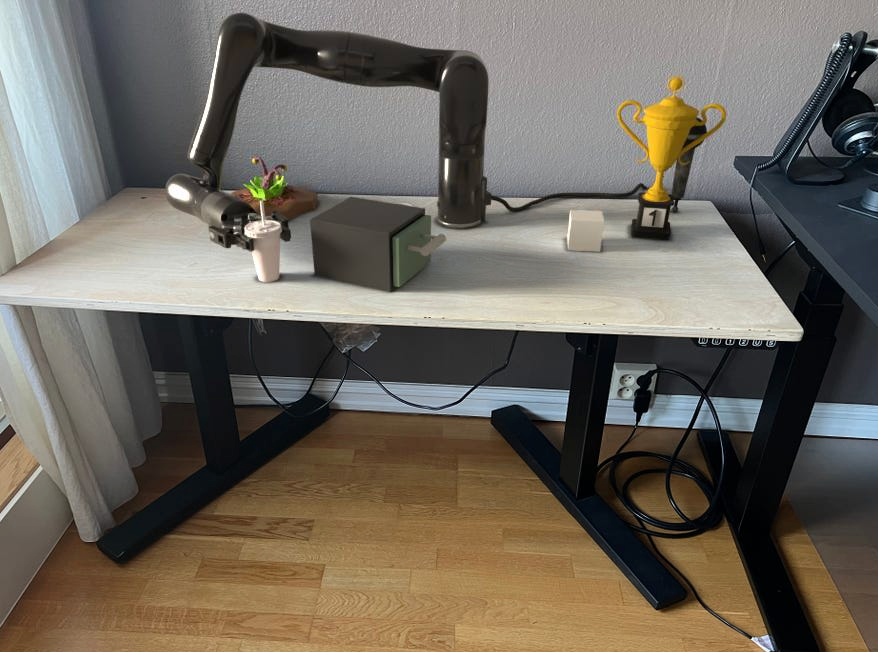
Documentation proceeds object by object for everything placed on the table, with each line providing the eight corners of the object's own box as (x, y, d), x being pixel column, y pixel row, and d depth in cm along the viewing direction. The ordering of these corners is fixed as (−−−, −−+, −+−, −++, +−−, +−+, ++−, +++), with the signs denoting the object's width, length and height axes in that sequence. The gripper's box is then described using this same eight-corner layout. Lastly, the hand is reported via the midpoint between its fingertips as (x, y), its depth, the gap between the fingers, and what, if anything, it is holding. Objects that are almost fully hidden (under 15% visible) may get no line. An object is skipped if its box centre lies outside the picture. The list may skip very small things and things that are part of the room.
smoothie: (293, 272, 130) (285, 197, 123) (276, 287, 125) (267, 209, 118) (261, 268, 132) (252, 194, 125) (244, 282, 127) (233, 206, 119)
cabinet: (425, 263, 133) (425, 208, 127) (390, 291, 123) (388, 233, 117) (353, 249, 139) (350, 196, 134) (314, 275, 129) (309, 219, 123)
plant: (269, 188, 173) (264, 141, 168) (331, 202, 163) (327, 153, 158) (206, 211, 160) (198, 161, 154) (268, 228, 150) (262, 176, 144)
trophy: (600, 237, 143) (621, 78, 127) (602, 220, 151) (622, 69, 135) (702, 246, 138) (737, 82, 123) (698, 228, 146) (731, 72, 131)
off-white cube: (597, 240, 141) (601, 211, 138) (600, 251, 136) (604, 221, 133) (566, 238, 142) (570, 209, 139) (567, 250, 137) (571, 220, 134)
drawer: (451, 265, 130) (452, 218, 125) (421, 292, 120) (421, 242, 116) (362, 248, 137) (361, 204, 133) (327, 272, 128) (324, 225, 123)
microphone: (694, 210, 156) (714, 115, 146) (686, 219, 151) (706, 122, 141) (662, 204, 159) (679, 111, 149) (654, 213, 154) (670, 118, 144)
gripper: (188, 204, 129) (229, 229, 117) (260, 188, 136) (305, 211, 124) (195, 243, 132) (235, 271, 121) (264, 226, 140) (308, 251, 128)
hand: (270, 240), depth 123 cm, fingers closed on smoothie, 6 cm apart
